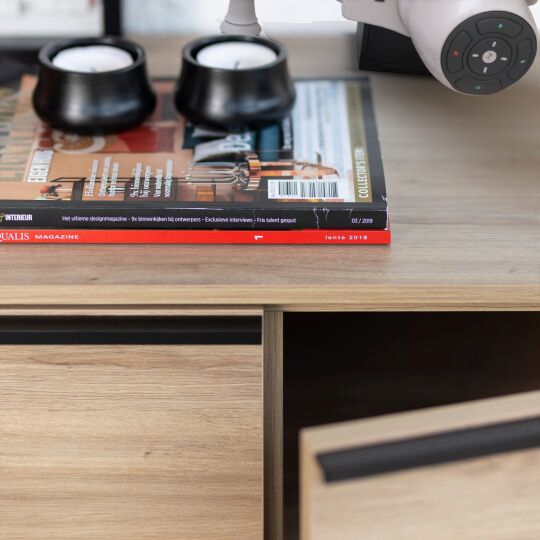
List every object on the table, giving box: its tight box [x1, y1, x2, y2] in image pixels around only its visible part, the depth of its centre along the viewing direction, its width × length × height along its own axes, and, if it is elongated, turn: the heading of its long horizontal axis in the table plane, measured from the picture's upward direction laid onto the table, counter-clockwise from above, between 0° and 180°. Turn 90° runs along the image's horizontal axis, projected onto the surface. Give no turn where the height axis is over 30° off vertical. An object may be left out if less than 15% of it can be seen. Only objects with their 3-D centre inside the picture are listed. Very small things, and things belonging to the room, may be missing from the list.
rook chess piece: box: [218, 0, 262, 38], centre depth 96 cm, size 4×4×8 cm
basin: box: [355, 22, 433, 76], centre depth 97 cm, size 10×10×5 cm
